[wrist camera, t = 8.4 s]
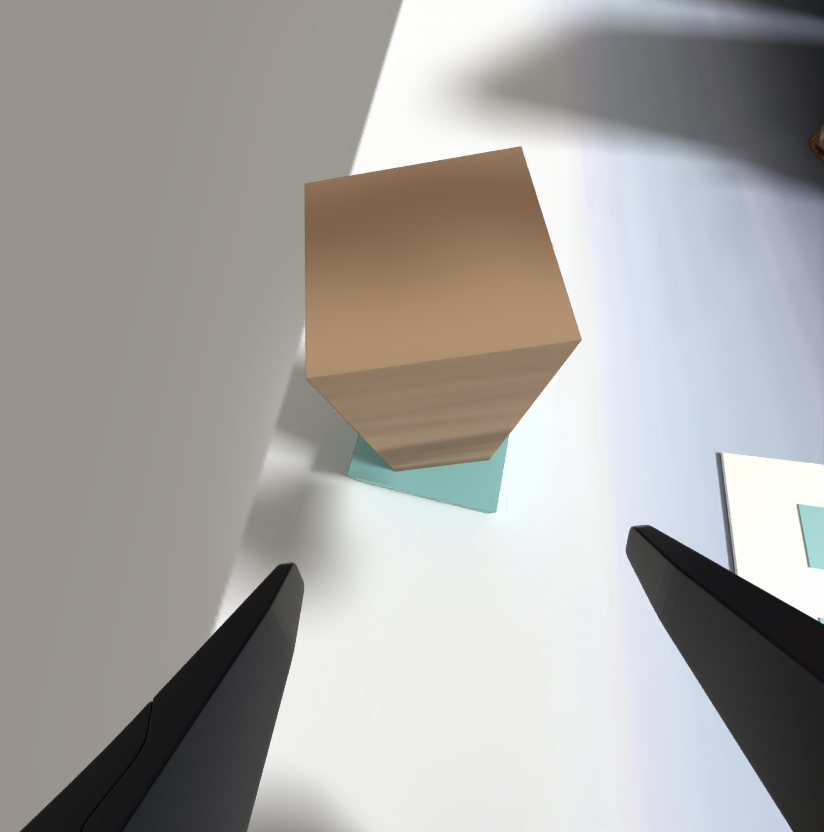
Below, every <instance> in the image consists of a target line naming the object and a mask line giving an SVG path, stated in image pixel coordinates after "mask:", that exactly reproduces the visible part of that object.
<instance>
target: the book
mask: <svg viewBox="0 0 824 832" xmlns="http://www.w3.org/2000/svg"><path fill="white" fill-rule="evenodd" d="M809 143H810V146H811V148H812V150H813V151H814V153H815V154H816V155H817V156H818V157H820V158H821V159H822V160H823V161H824V124H823V125H822V126H821V128H820V129H819V130H818V131H817V132H816V133H815V134H814V135H813V136H812V137H811V138H810V141H809Z"/></svg>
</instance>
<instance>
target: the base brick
mask: <svg viewBox="0 0 824 832" xmlns="http://www.w3.org/2000/svg"><path fill="white" fill-rule="evenodd" d="M508 437H509V435H508V436H507V438H506V439H505V440H504V442H503V443H502V444H501V445H500V447H499V448H498V449H497V451H496V452H495V453H494V455H493V456H492V457H491V458H490V460H486V461H478V462H470V463H461V464H453V465H445V466H437V467H429V468H421V469H413V470H405V471H397V472H395V471H394V469H393V468H392V467H391V466H390V465H389V464H388V463H387V462H386V461H385V460H384V459H383V458H382V457H381V456H380V455H379V454H378V453H377V452H376V451H375V450H374V449H373V448H372V447H371V446H370V445H369V444H368V443H367V442H366V440H365V439H364V438H363V437H362V436H361V435H360V434H359V437H358V440H357V444H356V447H355V450H354V454H353V457H352V460H351V464H350V467H349V470H348V474H347V476H349V477H351V478H354V479H356V480H358V481H360V482H364V483H368V484H372V485H376V486H380V487H384V488H388V489H392V490H396V491H400V492H404V493H408V494H412V495H416V496H420V497H424V498H428V499H432V500H436V501H440V502H444V503H448V504H452V505H456V506H460V507H464V508H468V509H472V510H476V511H480V512H484V513H495V512H496V510H497V504H498V498H499V492H500V486H501V480H502V474H503V468H504V462H505V456H506V449H507V443H508Z"/></svg>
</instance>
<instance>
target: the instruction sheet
mask: <svg viewBox="0 0 824 832" xmlns="http://www.w3.org/2000/svg"><path fill="white" fill-rule="evenodd" d="M721 461H722V469H723V477H724V485H725V494H726V502H727V510H728V518H729V526H730V534H731V542H732V550H733V558H734V566H735V574H736V575H738V576H740V577H742V578H744V579H745V580H747V581H749V582H751V583H752V584H754V585H756V586H758V587H759V588H761V589H763V590H765V591H766V592H768V593H770V594H772V595H773V596H775V597H777V598H779V599H781V600H782V601H784V602H786V603H788V604H789V605H791V606H793V607H795V608H796V609H798V610H800V611H802V612H803V613H805V614H807V615H809V616H810V617H812V618H814V619H816V620H817V621H819V622H821V623H823V624H824V465H820V464H812V463H804V462H796V461H787V460H779V459H771V458H763V457H755V456H746V455H738V454H730V453H721Z"/></svg>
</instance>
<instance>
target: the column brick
mask: <svg viewBox="0 0 824 832" xmlns="http://www.w3.org/2000/svg"><path fill="white" fill-rule="evenodd" d="M581 340H582V339H581V336H580V333H579V329H578V326H577V323H576V320H575V317H574V313H573V310H572V307H571V304H570V301H569V297H568V294H567V291H566V288H565V285H564V282H563V278H562V275H561V272H560V269H559V266H558V262H557V259H556V256H555V253H554V250H553V246H552V243H551V240H550V237H549V234H548V230H547V227H546V224H545V221H544V218H543V214H542V211H541V208H540V205H539V202H538V199H537V195H536V192H535V189H534V186H533V183H532V179H531V176H530V173H529V170H528V167H527V163H526V160H525V157H524V154H523V151H522V147H521V146H520V147H514V148H508V149H503V150H497V151H491V152H485V153H479V154H474V155H468V156H462V157H456V158H451V159H445V160H439V161H433V162H427V163H422V164H416V165H410V166H404V167H398V168H393V169H387V170H381V171H375V172H369V173H364V174H358V175H352V176H346V177H340V178H335V179H329V180H323V181H318V182H312V183H306V184H305V347H306V379H307V380H308V382H309V383H310V384H311V385H312V386H313V387H314V388H315V389H316V390H317V391H318V392H319V393H320V394H321V395H322V396H323V397H324V398H325V399H326V400H327V401H328V402H329V403H330V404H331V405H332V406H333V407H334V408H335V409H336V410H337V412H338V413H339V414H340V415H341V416H342V417H343V418H344V419H345V420H346V421H347V422H348V423H349V424H350V425H351V426H352V427H353V428H354V429H355V430H356V431H357V432H358V433H359V434H360V435H361V436H362V437H363V438H364V439H365V440H366V442H367V443H368V444H369V445H370V446H371V447H372V448H373V449H374V450H375V451H376V452H377V453H378V454H379V455H380V456H381V457H382V458H383V459H384V460H385V461H386V462H387V463H388V464H389V465H390V466H391V467H392V468H393V469H394V471H395V472H397V471H405V470H413V469H421V468H429V467H437V466H445V465H453V464H461V463H470V462H478V461H486V460H490V458H491V457H492V456H493V455H494V453H495V452H496V451H497V449H498V448H499V447H500V445H501V444H502V443H503V442H504V440H505V439H506V438H507V436H508V435H509V434H510V432H511V431H512V430H513V429H514V427H515V426H516V425H517V423H518V422H519V421H520V419H521V418H522V417H523V416H524V414H525V413H526V412H527V410H528V409H529V408H530V406H531V405H532V404H533V403H534V401H535V400H536V399H537V397H538V396H539V395H540V393H541V392H542V391H543V390H544V388H545V387H546V386H547V384H548V383H549V382H550V380H551V379H552V378H553V377H554V375H555V374H556V373H557V371H558V370H559V369H560V367H561V366H562V365H563V364H564V362H565V361H566V360H567V358H568V357H569V356H570V354H571V353H572V352H573V351H574V349H575V348H576V347H577V345H578V344H579V343H580V341H581Z"/></svg>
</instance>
